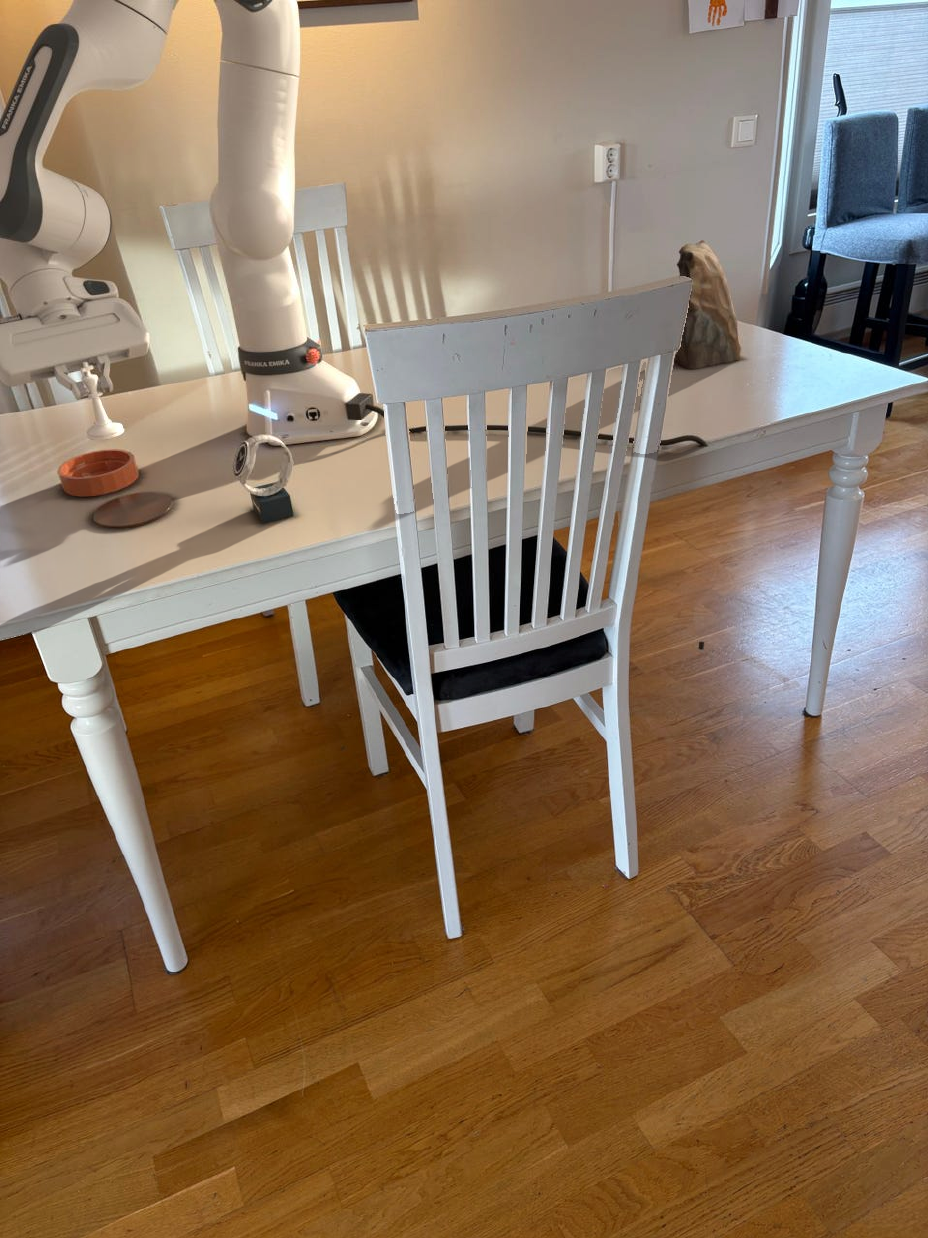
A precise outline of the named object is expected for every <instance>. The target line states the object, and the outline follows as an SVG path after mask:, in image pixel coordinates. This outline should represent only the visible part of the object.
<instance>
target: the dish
mask: <svg viewBox="0 0 928 1238" xmlns="http://www.w3.org/2000/svg"><path fill="white" fill-rule="evenodd" d="M56 473H57V475H58V479H59V481H60V485H61V489H62V490H63V491H64V493H65V494H68V495H70V496H73V497H94V496H96V497H97V496H101V495H106V494H110V493H111V494H112V493H113V492H117V491H119V490H122V489H124V488H126V487H128V486H130V485H132V484H133V483H134V482H135V481H136V480H137V479H138V478H139V474H140V473H139V468H138V466H137V461H136V457H135V454H133V453H132V452H131V451H128V450H126V449H117V448H113V449H110V448H109V449H100V450H93V451H89V452H86V453H81V454H78V455H76V456H74V457H71V458H69V459H68V460H66V461H64V462H62V463H61V464H60V465H59V466H58V468H57V472H56Z"/></svg>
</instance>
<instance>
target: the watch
mask: <svg viewBox="0 0 928 1238" xmlns="http://www.w3.org/2000/svg"><path fill="white" fill-rule="evenodd" d="M267 442H275V443H277V444H280V445H279V446H281V447H282V448H283V449H284V453H283V456H284V457H283V461H282V465H281V469H280V472H279V474H278V476H277V478H278V480H277V481H274V482H270V483H267V484H262V485H258V486H254V487H252V486H250V485H248V484H247V478H249V476H250V475H251V474H252V471H253V470H254V467H255V464H256V461H257V460H256V459H257V451H258V448H259V445H260V444H264V443H267ZM232 467H233V469H232V471H233V475H234V477H235V478H237V480H238V482H239V483H240V484H241V485H242V487H243V488H244V489H245V490H246V491H247V492H248V493H249V495H250V500H251V503H252V508H253V510H254V512H255V514H256V515H257V516H258V518H259V519H260V521H261V522H262V523H263V524H268V523H271V522H275V521H279V520H284V519H286V518H290V517H294V516H295V515H294V510H293V504H292V499H291V495H290V493H289V492H288V491H287V490H286V488H285V487H286V486H287V485H288V482H289V480H290V479H291V476H292V472H293V468H294V459H293V456H292V453H291V451H290V449H289V448H288V447H287V446H286V445H285V444H284V443H283V442H282V441H281V440H279V439H278V438H276V437H274V436H270V435H257V436H251V437H249V438H248V439H247V440H243V441H242V442H241V443H240V444H239V446H238V448H237V450H236V452H235V456H234V460H233V465H232Z"/></svg>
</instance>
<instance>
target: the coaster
mask: <svg viewBox="0 0 928 1238" xmlns="http://www.w3.org/2000/svg"><path fill="white" fill-rule="evenodd" d="M173 506H174V505H173V500H172V498H171V497H170V496H168V495H167V494H164V493H161V492H152V491H149V492H147V491H146V492H145V491H144V492H137V493H131V494H126V495H122V496H119V497H117V498H113V499H111V500H109V501H107V502H105V503H104V504H102V505H100V506H98V507H97V509H96V510H95V511H94V513H93V516H92V517H93V521H94V523H95V524H96V525H98V526H99V527H102V528H106V529H120V530H121V529H131V528H137V527H140V526H143V525H147V524H150V523H152V522H155V521H157V520H159V519H161V518H162V517H164V516H165V515H167V514H168V513H169V512H170V511H171V510H172V508H173Z"/></svg>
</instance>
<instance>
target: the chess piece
mask: <svg viewBox="0 0 928 1238" xmlns="http://www.w3.org/2000/svg"><path fill="white" fill-rule="evenodd" d="M83 366H84V368H81V369H80V370H81V371H80V372H81V373H85V375H83V376H82V377H81V381H83V383H84V386H85V388H86V389H87V391H88V395H87V396H88V398H87V399H91V402H92V406H93V411H94V418H95V420H94V421H95V422H94V423H93V425H92V426H91V427H89V428H88V429H87V430H86V434H87V435H86V436H87V439H89V440H91V441H105V440H110V439H114V438H116V437H118V436H121V435H122V434H123V433H124V432H125V428H123V424H122V423H120V422H116V421H112V420H111V419H109V417H108V415H107V413H106V411H105V408H104V406H103V404H102V401H101V399H100V397H102V396H103V393H102V392H101V390H99V389H98V385H97V381H98V380H97V377H98V375H97V374H94V373H91V370H93V369H94V367H93V365H89V366H88V363H87V362H83Z"/></svg>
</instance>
